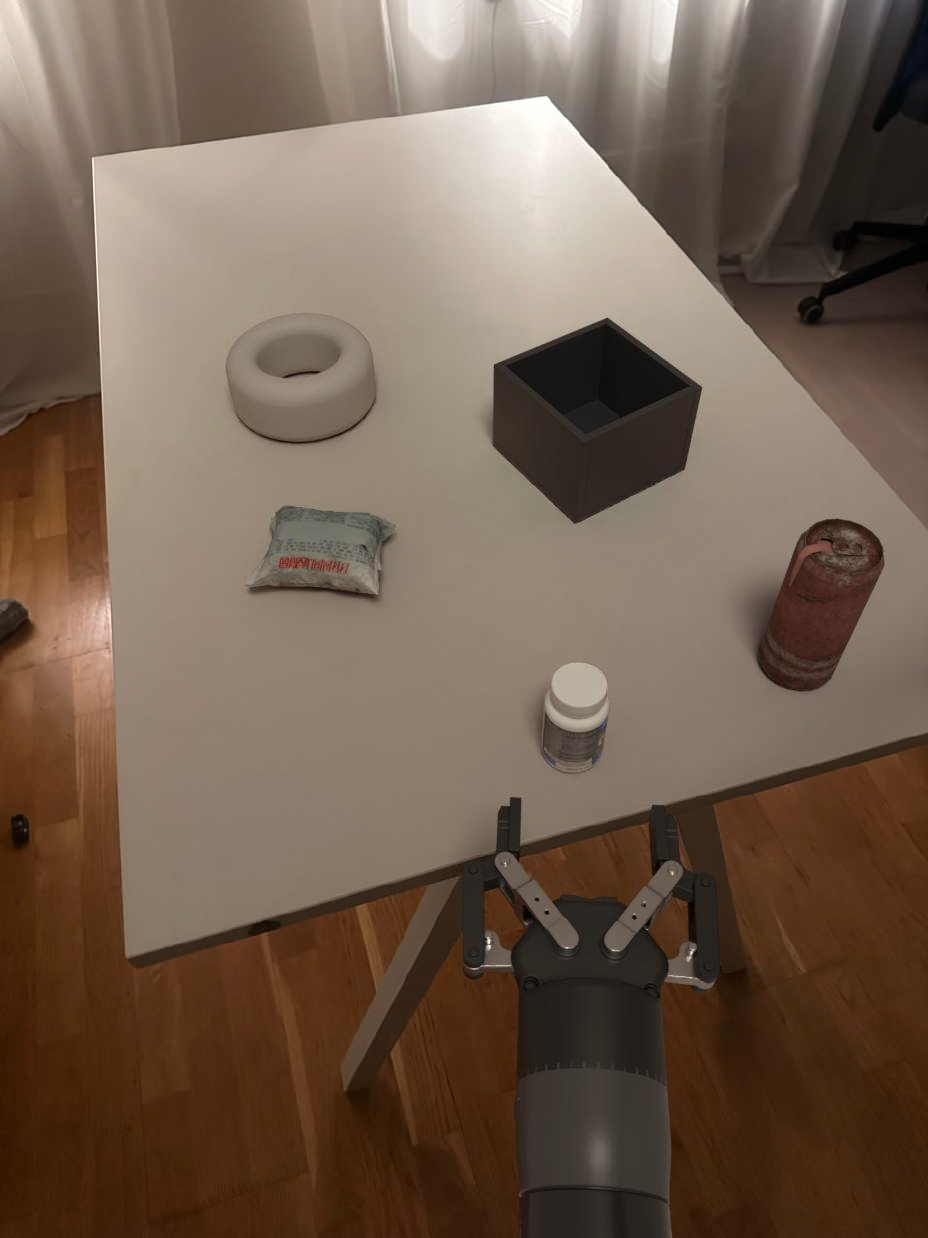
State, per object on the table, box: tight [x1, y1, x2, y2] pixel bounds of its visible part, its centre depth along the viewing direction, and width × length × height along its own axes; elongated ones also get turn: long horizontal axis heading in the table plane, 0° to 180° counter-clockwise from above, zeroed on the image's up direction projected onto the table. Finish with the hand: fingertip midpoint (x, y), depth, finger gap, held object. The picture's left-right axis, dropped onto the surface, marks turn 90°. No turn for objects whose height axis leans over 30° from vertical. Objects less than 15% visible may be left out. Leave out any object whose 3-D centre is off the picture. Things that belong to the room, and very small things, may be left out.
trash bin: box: [492, 317, 703, 524], centre depth 91 cm, size 14×14×10 cm
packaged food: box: [244, 505, 397, 596], centre depth 84 cm, size 9×12×5 cm
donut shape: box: [225, 312, 377, 443], centre depth 99 cm, size 15×15×7 cm
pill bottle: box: [540, 661, 610, 774], centre depth 70 cm, size 5×5×8 cm
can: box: [757, 518, 885, 691], centre depth 73 cm, size 6×6×14 cm
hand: (585, 807), depth 58 cm, fingers open, 8 cm apart
